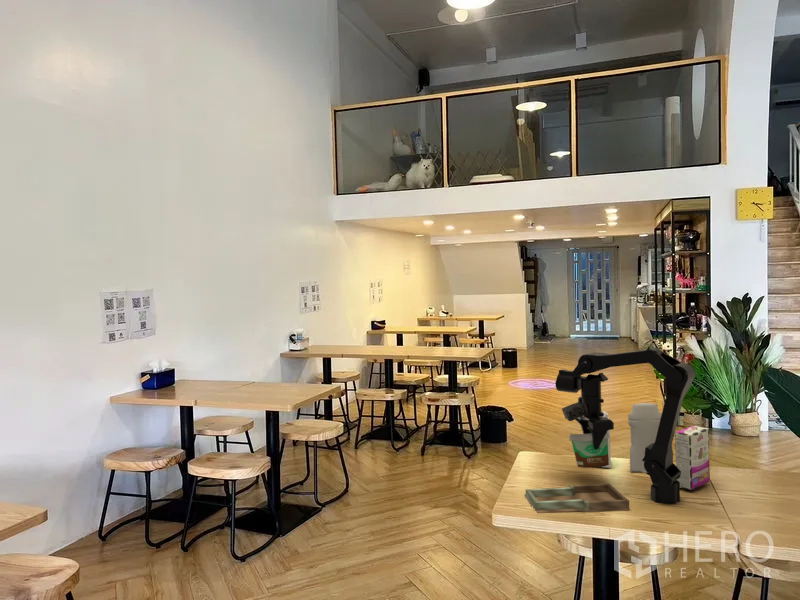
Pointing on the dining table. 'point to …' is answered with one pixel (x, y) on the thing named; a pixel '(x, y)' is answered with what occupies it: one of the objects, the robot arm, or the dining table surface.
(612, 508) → the green flat tray
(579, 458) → the food container
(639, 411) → the light grey flat bottle
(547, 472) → the dining table surface
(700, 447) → the candy bar box
